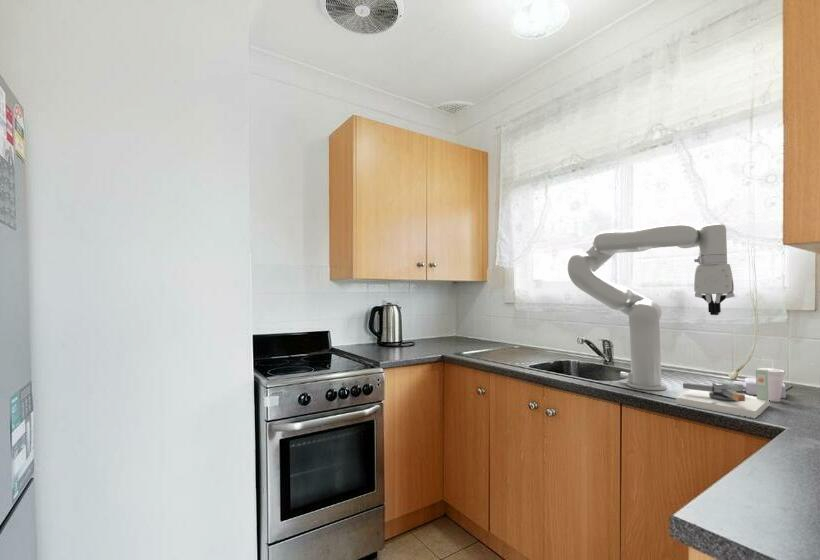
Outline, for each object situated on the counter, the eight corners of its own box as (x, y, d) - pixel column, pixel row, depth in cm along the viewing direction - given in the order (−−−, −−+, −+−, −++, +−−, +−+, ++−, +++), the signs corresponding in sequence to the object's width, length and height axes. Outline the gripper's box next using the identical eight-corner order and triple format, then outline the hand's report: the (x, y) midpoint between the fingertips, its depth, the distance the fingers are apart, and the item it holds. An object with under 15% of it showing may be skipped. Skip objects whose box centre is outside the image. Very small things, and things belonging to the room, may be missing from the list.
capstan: (708, 405, 113) (707, 390, 113) (681, 392, 128) (680, 379, 128) (776, 407, 111) (775, 392, 111) (740, 393, 125) (740, 380, 125)
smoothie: (791, 403, 122) (789, 358, 123) (767, 402, 124) (766, 357, 124) (776, 397, 129) (775, 354, 129) (754, 397, 130) (752, 354, 130)
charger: (725, 387, 143) (781, 393, 134) (726, 393, 136) (786, 399, 127) (725, 374, 144) (781, 379, 135) (726, 379, 136) (785, 385, 127)
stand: (675, 403, 123) (674, 368, 123) (695, 393, 135) (694, 361, 135) (755, 418, 108) (754, 378, 109) (769, 405, 120) (768, 369, 121)
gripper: (683, 261, 137) (685, 314, 137) (738, 258, 126) (740, 316, 125) (690, 262, 142) (692, 313, 141) (743, 259, 130) (745, 315, 130)
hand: (714, 314), depth 133 cm, fingers closed
